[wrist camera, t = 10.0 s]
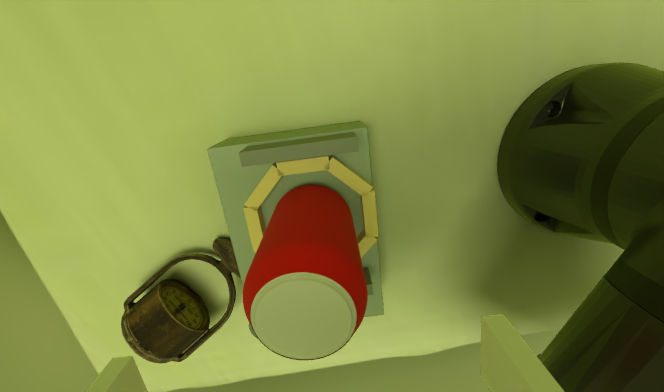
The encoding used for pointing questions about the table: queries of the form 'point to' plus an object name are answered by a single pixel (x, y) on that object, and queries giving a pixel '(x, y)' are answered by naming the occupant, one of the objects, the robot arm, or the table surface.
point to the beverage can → (307, 276)
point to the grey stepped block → (290, 172)
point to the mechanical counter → (175, 311)
